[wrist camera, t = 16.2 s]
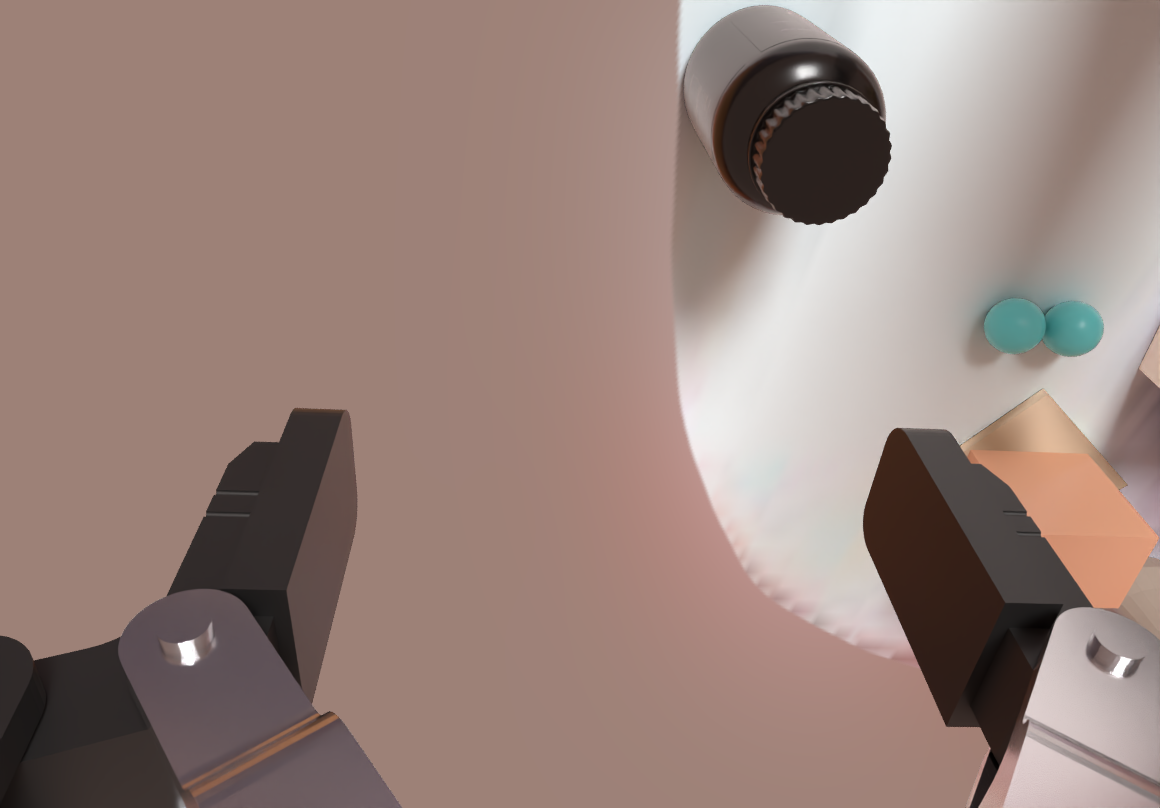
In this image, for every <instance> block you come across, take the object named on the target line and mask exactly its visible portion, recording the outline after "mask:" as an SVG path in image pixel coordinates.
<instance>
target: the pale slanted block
mask: <svg viewBox="0 0 1160 808" xmlns="http://www.w3.org/2000/svg"><path fill="white" fill-rule="evenodd" d="M1139 369H1140V370H1141V371H1142V372H1143V373H1144V374H1145V375H1146V376H1147V377H1148V378H1149V379H1150V380H1151V381H1152V382H1154V383H1155V384H1156V385H1157V386H1158V387H1159V388H1160V326H1159V328H1158V330H1157V332H1156V334H1155V337H1154V339H1153V341H1152V343H1151V345H1150V347H1149V349H1148V351H1147V353H1146V355H1145V357H1144V359H1143V361H1142V363H1141V365H1140V367H1139Z"/></svg>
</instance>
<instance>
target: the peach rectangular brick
mask: <svg viewBox="0 0 1160 808" xmlns="http://www.w3.org/2000/svg"><path fill="white" fill-rule="evenodd" d="M967 458H968V459H969V461H970V462H971V464H982V465H983V466H984V467H986V468H987V469H988V470H989V471H991V472H992V473H993V474H995V475H996V476H997V477H998V478H1000V479H1001V480H1002V481H1003V482H1005V483H1006V484H1007V485H1009V486H1010V488H1011V489H1012V490H1013V492H1014V493H1015V495H1016V496H1017V498H1018V499H1019V501H1020V502H1021V503H1022V505H1023V506H1024V508H1025V509H1026V511H1027V516H1031V518H1032V519H1033V521H1034V522H1035V524H1036V525H1037V527H1038V528H1039V529H1040V531H1041V537H1045V538H1046V540H1047V541H1048V542H1049V544H1050V545H1051V547H1052V548H1053V550H1054V551H1055V552H1056V554H1057V555H1058V557H1059V558H1060V560H1061V561H1062V563H1063V564H1064V565H1065V567H1066V568H1067V570H1068V571H1069V573H1070V574H1071V576H1072V577H1073V578H1074V580H1075V581H1076V583H1077V584H1078V586H1079V587H1080V589H1081V590H1082V591H1083V593H1084V594H1085V596H1086V597H1087V599H1088V600H1089V602H1090V603H1091V604H1092V606H1093V607H1094V608H1119V607H1120V605H1121V603H1122V602H1123V600H1124V598H1125V596H1126V595H1127V593H1128V591H1129V590H1130V588H1131V586H1132V584H1133V583H1134V581H1135V579H1136V577H1137V576H1138V574H1139V572H1140V571H1141V569H1142V567H1143V565H1144V564H1145V562H1146V560H1147V558H1148V557H1149V555H1150V553H1151V552H1152V550H1153V548H1154V546H1155V545H1156V543H1157V541H1158V539H1159V537H1158V536H1157V534H1156V533H1155V532H1154V531H1153V530H1152V529H1151V527H1150V526H1149V525H1148V524H1147V523H1146V522H1145V520H1144V519H1143V518H1142V517H1141V516H1140V515H1139V513H1138V512H1137V511H1136V510H1135V509H1134V507H1133V506H1132V505H1131V504H1130V503H1129V502H1128V500H1127V499H1126V498H1125V497H1124V496H1123V495H1122V493H1121V492H1120V491H1119V490H1118V489H1117V487H1116V486H1115V485H1114V484H1113V483H1112V482H1111V480H1110V479H1109V478H1108V477H1107V476H1106V475H1105V473H1104V472H1103V471H1102V470H1101V469H1100V467H1099V466H1098V465H1097V464H1096V463H1095V462H1094V460H1093V459H1092V458H1091V457H1090V456H1089V455H1088V454H1079V453H1050V452H1022V451H993V450H970V452H969V455H968V457H967Z"/></svg>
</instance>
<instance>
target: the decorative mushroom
mask: <svg viewBox="0 0 1160 808" xmlns="http://www.w3.org/2000/svg"><path fill="white" fill-rule="evenodd" d="M1098 609H1103V610H1107V611H1111V612H1114V613H1116V614H1119V615H1122V616H1124V617H1126V618H1128V619H1130V620H1132V621H1134V622H1136V623H1138V624H1139V625H1141V626H1143V627H1144V628H1146V629H1147V630H1148V631H1150V632H1151V633H1152V634H1154V635H1155V636H1156V637H1157V638H1158V639H1159V640H1160V560H1159V559H1156V558H1151V557H1148V558H1147V560H1146V562H1145V564H1144V565H1143V567H1142V569H1141V571H1140V572H1139V574H1138V576H1137V577H1136V579H1135V581H1134V583H1133V584H1132V586H1131V588H1130V590H1129V591H1128V593H1127V595H1126V596H1125V598H1124V600H1123V602H1122V603H1121V605H1120V607H1119V608H1098Z"/></svg>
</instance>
